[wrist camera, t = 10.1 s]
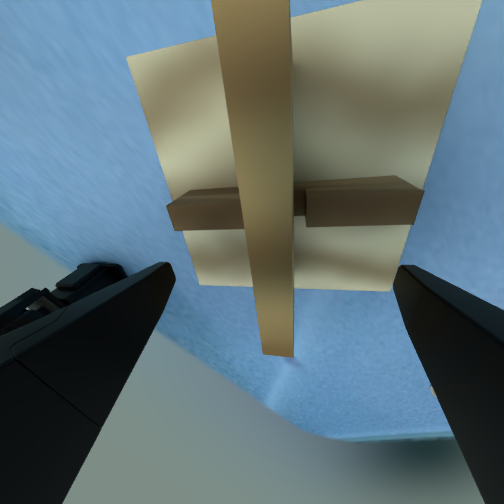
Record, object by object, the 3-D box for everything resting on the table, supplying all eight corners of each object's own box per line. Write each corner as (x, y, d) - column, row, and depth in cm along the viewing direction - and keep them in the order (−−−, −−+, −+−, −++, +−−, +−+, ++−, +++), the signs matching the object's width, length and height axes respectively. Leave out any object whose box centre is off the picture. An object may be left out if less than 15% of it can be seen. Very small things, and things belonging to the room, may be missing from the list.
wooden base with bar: (386, 284, 21) (408, 325, 17) (203, 279, 25) (184, 311, 21) (476, -19, 10) (597, -112, 6) (135, 60, 15) (71, 37, 10)
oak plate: (294, 272, 21) (293, 357, 13) (274, 271, 21) (262, 354, 14) (292, 61, 12) (287, -28, 5) (260, 67, 13) (210, -6, 5)
